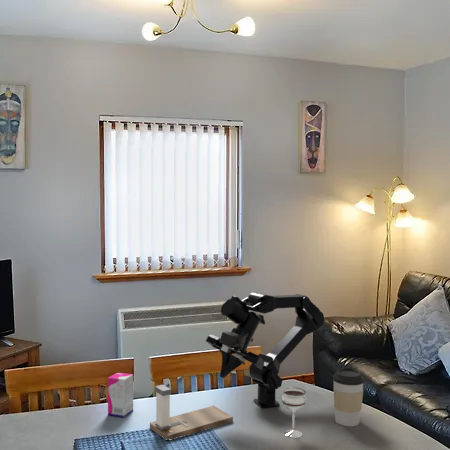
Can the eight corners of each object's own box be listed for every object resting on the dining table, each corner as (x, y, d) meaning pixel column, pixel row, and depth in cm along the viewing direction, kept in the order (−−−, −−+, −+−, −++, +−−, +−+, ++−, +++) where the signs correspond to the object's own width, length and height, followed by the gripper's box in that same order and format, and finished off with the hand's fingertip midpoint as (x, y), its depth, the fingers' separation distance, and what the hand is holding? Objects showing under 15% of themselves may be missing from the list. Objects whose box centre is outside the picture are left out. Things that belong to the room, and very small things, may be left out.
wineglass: (308, 431, 152) (309, 389, 151) (301, 441, 146) (302, 397, 145) (285, 426, 155) (286, 385, 154) (277, 436, 149) (278, 393, 148)
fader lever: (163, 422, 152) (163, 384, 152) (171, 427, 149) (171, 389, 148) (154, 424, 151) (154, 386, 150) (162, 430, 147) (162, 391, 147)
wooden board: (213, 410, 166) (213, 405, 166) (232, 421, 158) (232, 416, 158) (149, 427, 153) (149, 422, 153) (167, 441, 145) (167, 435, 145)
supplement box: (133, 410, 165) (133, 373, 165) (124, 418, 160) (124, 380, 159) (117, 407, 167) (117, 371, 166) (107, 415, 162) (107, 377, 161)
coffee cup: (363, 429, 154) (365, 377, 153) (331, 426, 155) (332, 375, 155) (362, 416, 162) (363, 367, 162) (331, 413, 164) (332, 365, 163)
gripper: (210, 310, 163) (185, 357, 159) (261, 332, 153) (237, 383, 148) (224, 323, 172) (201, 368, 167) (274, 344, 162) (251, 393, 157)
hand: (221, 377), depth 160 cm, fingers closed
